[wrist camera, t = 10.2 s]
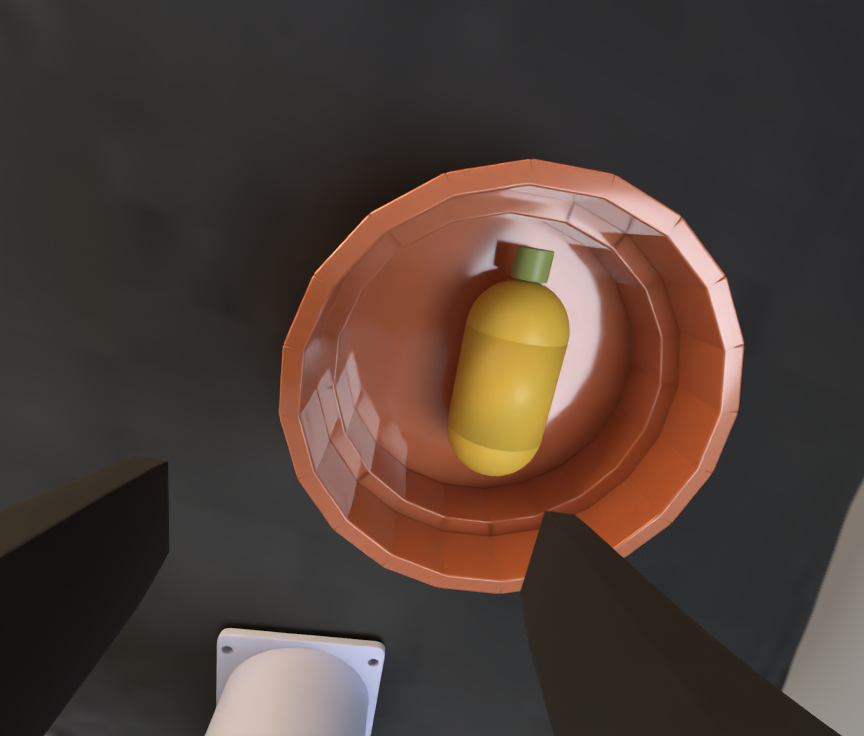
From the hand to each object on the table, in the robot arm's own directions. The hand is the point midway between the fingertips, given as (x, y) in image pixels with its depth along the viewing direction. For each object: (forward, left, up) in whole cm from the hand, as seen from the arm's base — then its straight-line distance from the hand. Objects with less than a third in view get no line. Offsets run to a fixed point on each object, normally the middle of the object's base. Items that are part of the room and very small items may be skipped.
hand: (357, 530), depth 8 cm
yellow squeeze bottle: (+1, -4, -9) cm, 10 cm away
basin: (+1, -4, -9) cm, 10 cm away
